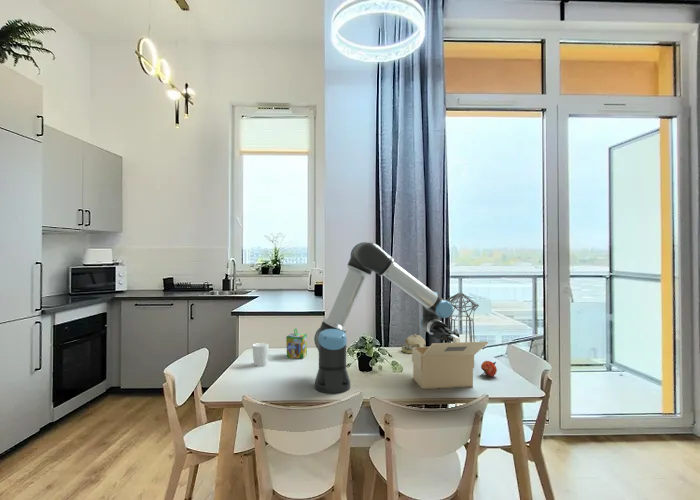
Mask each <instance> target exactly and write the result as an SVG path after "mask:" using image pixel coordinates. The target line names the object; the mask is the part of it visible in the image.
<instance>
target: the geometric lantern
mask: <svg viewBox="0 0 700 500" xmlns="http://www.w3.org/2000/svg"><path fill="white" fill-rule="evenodd" d="M445 300H446V301H448V302H449V303H451V305H452V307H453V312H452V314H451V315H450V316H449V317H447V318H448V319H447V320H448V321H447V327H448V329H451V330H452V331H453V330H455V329H456V320H457V318H459V317H465V318H466V319H461V321H464V322H465V342H468V333H469V342H476V340H475V323H474V319H475V318H474V317H475V313H473V312H475V311H476V310H477V309H478V308H479V307H480V305H479V304H478V303H477V302H475V301H474V300H472V298H469V297H468V295H466V294H464V293H463V292H457V293H455V294H454V295H453V296H450V297H449V298H447V299H445ZM457 303H459V304H457ZM469 303H471V304H470V305H468V304H469ZM462 304H463V305H462ZM467 308H468V309H467ZM455 310H457V311H458V312H459V313H458V314H457V315H453V313H454V311H455ZM469 311H470V313H469V314H468V312H469ZM462 313H464V314H465V315H460V314H462ZM472 313H473V315H472V317H470V316H471V314H472ZM453 317H455V319H453ZM468 328H469V329H468ZM446 343H448V342H447V341H446ZM449 343H452V342H451V341H450V342H449Z"/></svg>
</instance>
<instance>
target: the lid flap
mask: <svg viewBox="0 0 700 500" xmlns="http://www.w3.org/2000/svg"><path fill="white" fill-rule="evenodd" d="M488 344H489V343H488V341H475V342H474V341H472V342H470V341H469V342H468V341H467V342H466V341H465V342H460V343H452V342H451V343H447V342H439V343H438V342H435V343H433V342H432V343H431V344H430V345H429V346H428V347H429V348H428V349H427V350H426V352H425V353H424V354H423V356H452V355H474V356H475V355H477V353H478V352H479V351H481V350H483V348H485V347H486V345H488Z"/></svg>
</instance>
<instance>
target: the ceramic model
mask: <svg viewBox="0 0 700 500" xmlns="http://www.w3.org/2000/svg"><path fill="white" fill-rule="evenodd" d="M425 346H426V340H425V339H424V338H423V337H422V336H421V335H418V334H417V333H414V334H412V335H408V337H407V338H406V339H405V346H404V345H401V351H402V353H406V354H412V348H413V347H425Z"/></svg>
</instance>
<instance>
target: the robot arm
mask: <svg viewBox="0 0 700 500" xmlns="http://www.w3.org/2000/svg"><path fill="white" fill-rule="evenodd" d="M347 269H348V270H347V273H346V275H345V278H344V280H343V283H341V284H342V285H341V287H340V289H339V290H338V291H339V292H338V293H337V296H336V298H335V300H334V303H333V305H332V307H331V310H330V313H329V314H328V317H326V318H325V319H323V320H322V322H321V324H320V327H319V328H318V329H317V330H316V332H315V334H314V336H313V338H314V339H313V340H314V341H313V342H314V345H315V347H316V349H317V352H318V371H317V374H316V377H315V379H314V389H315V390H316V391H317V392H321V393H326V394H339V393H344V392H346V391H349V390H350V389H351V379H350V376H349V373H348V370H347V343H348V342H347V341H348V340H347V335H346V332H347V328H346V323H347V322H348V319H349V317H350V315H351V313H352V310H353V308H354V306H355V305H356V304H355V303H356V302H357V300H358V299H357V298H358V296H359V294H360V292H361V289H362V288H363V286H364V285H363V284H364V282H365V280H366V278H367V277H370V276H371V274H372V272H374V273H375V274H377V275H378V276H380V277H382V276H383V277H385V278H386V279H388V280H389V281H390V282H391V283H393V284H394V285H395V286H397V287H398V288H400V289H401V290H402V291H403V292H405V293H406V294H408V295H409V296H410V297H412V298H413V299H415V301H417V302H418V303H419V304H421V305H422V312H421V313H422V317H421V318H420V322H419V324H420V325H419V326H420V327H421V329H422V330H423V331H425V332H426V333H428V334H429V337H432V338H435V339H437V340H441V341H446V343H447V342H448V343H449V342H450V341H451V343H461V338H460V332H458V329H456V328H455V330H454V329H452V330H451V329H450V328H449V329H448V324H446V323H445V322H443V321H441V320H439V319H440V318H442V319H447V318H448V317H449V316H450V315H451V314H452V312H453V310H454V307H453V306H452V305H451V303H449V302H448V301H446V300H447V299H443V297H441V296H439V293H438V292H437V291H433V290H432V289H430V288H429V287H428V286H426V285H425V284H424V283H423V282H421V281H420V280H419V279H418V278H416V277H414V276H413V275H412V274H411V273H410V272H409V271H407V270H405V268H403V267H401V265H399V264H398V263H396V261H395V259H394V257H393V256H391V255H390V254H389V253H388V252H386V250H384V249H383V248H382V247H381V246H380V245H378V244H377V243H374V242H365V241H364V242H360V243H357V244H356V245H354V246H353V247H352V249H351V252H350V258H349V260H348V263H347ZM453 313H454V312H453ZM452 315H453V314H452Z"/></svg>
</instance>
